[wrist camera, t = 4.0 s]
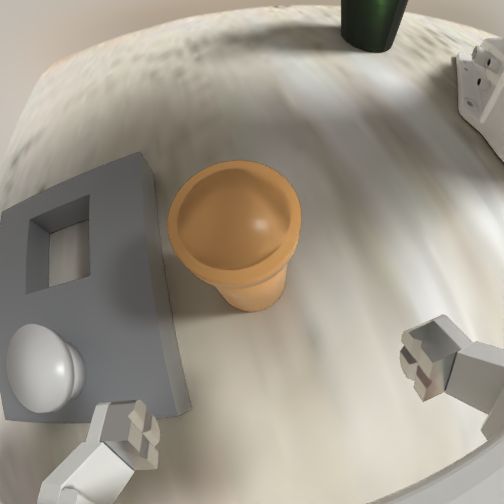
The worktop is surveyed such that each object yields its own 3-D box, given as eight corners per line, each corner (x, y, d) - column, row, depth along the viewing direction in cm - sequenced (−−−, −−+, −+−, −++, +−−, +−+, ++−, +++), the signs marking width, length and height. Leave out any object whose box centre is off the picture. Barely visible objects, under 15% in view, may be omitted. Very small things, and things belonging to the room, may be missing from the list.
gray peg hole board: (21, 225, 24) (-18, 197, 18) (153, 173, 24) (124, 125, 18) (29, 418, 17) (-22, 420, 12) (192, 408, 17) (157, 425, 12)
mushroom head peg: (225, 234, 21) (193, 153, 13) (299, 250, 21) (312, 172, 12) (202, 306, 20) (149, 262, 11) (281, 326, 19) (283, 296, 11)
